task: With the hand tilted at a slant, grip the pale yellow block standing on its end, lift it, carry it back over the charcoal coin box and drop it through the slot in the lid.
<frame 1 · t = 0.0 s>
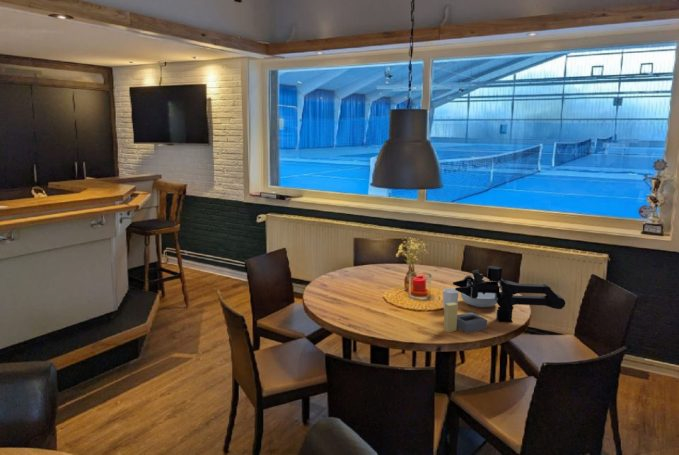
hand: (454, 286, 254), 17 cm above the table, tool horizontal, fingers open, 9 cm apart
pale yellow block: (449, 330, 242), on the table
serving bowl: (479, 304, 278), on the table
white cup: (449, 309, 270), on the table
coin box: (468, 326, 246), on the table
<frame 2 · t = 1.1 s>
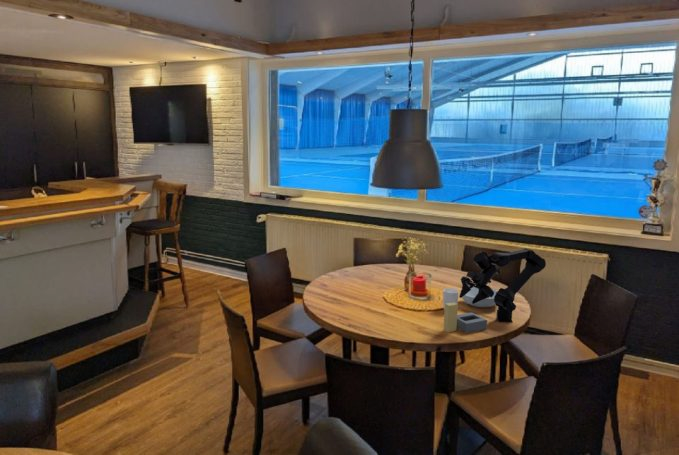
hand: (466, 300, 243), 14 cm above the table, tool tilted 45°, fingers open, 9 cm apart
nothing on the table moved.
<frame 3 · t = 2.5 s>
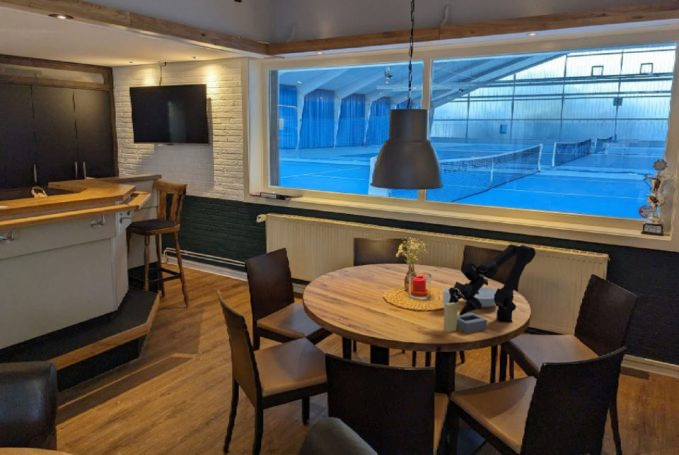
hand: (453, 311, 240), 9 cm above the table, tool tilted 45°, fingers open, 9 cm apart
nothing on the table moved.
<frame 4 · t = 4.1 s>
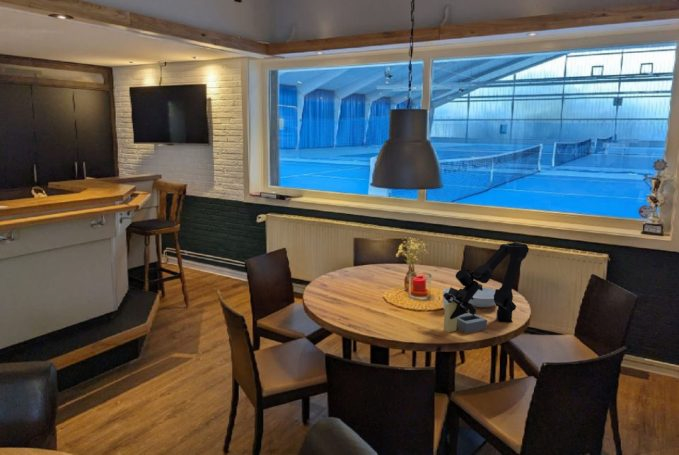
hand: (448, 317, 240), 7 cm above the table, tool tilted 45°, fingers closed on pale yellow block, 3 cm apart
pale yellow block: (449, 330, 242), on the table, touching gripper
everything else where it was.
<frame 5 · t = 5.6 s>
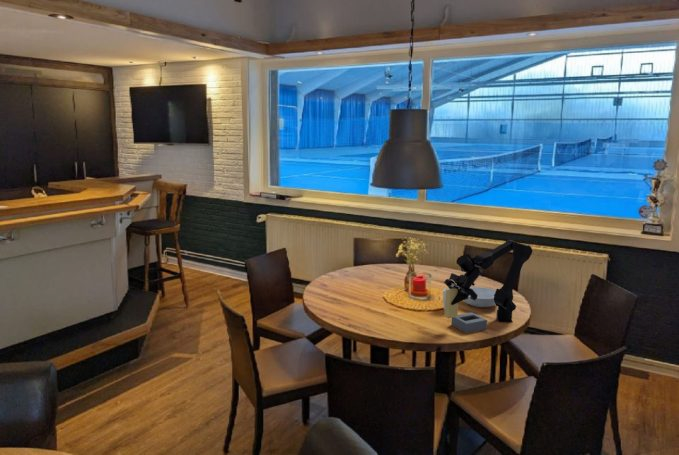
hand: (449, 303, 238), 13 cm above the table, tool tilted 45°, fingers closed on pale yellow block, 3 cm apart
pale yellow block: (450, 316, 240), point 7 cm above the table, touching gripper
everything else where it was.
when the fingers open (12 cm above the table, at t = 7.2 s): pale yellow block drops 6 cm, resting in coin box.
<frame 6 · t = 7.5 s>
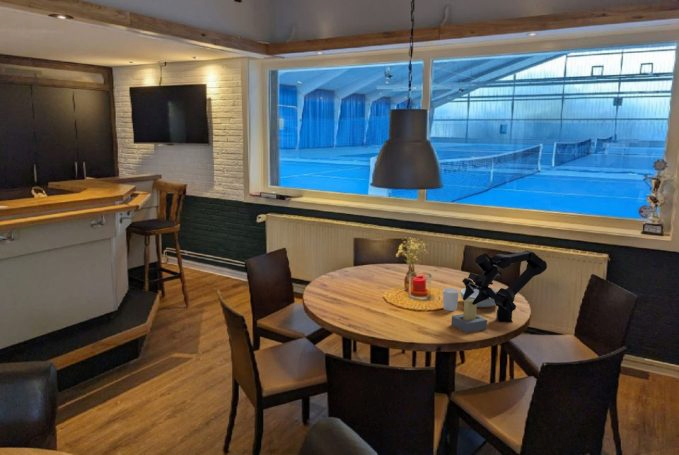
hand: (467, 302, 243), 13 cm above the table, tool tilted 45°, fingers open, 7 cm apart
pale yellow block: (468, 326, 246), resting in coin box
everything else where it was.
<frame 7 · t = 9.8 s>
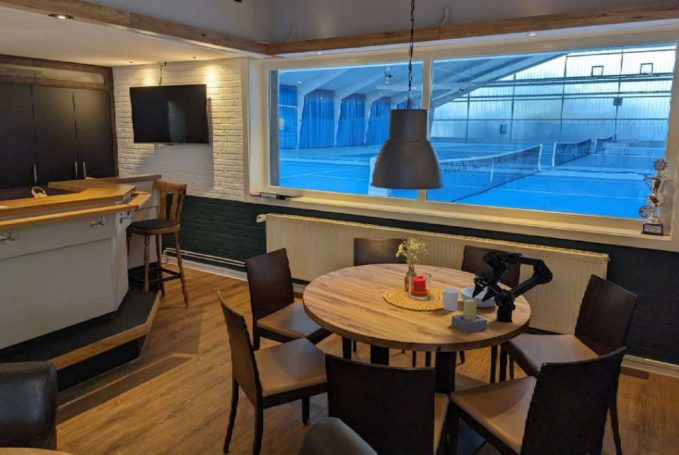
hand: (477, 299, 247), 13 cm above the table, tool tilted 40°, fingers open, 9 cm apart
nothing on the table moved.
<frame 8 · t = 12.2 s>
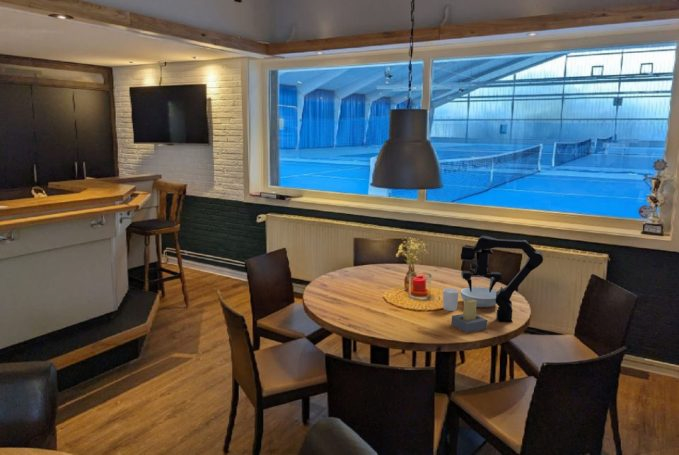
hand: (480, 292, 257), 13 cm above the table, tool pointing down, fingers open, 9 cm apart
nothing on the table moved.
at the end: pale yellow block inside the target area on the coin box (0.0 cm from its centre), point 0.0 cm above the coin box's base; the gripper is holding nothing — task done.
